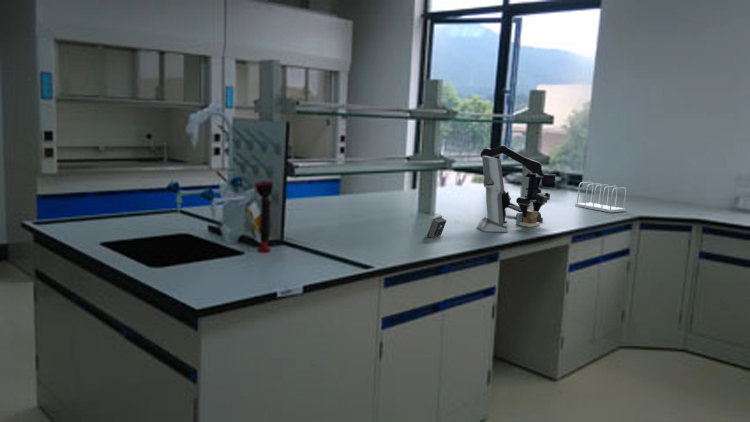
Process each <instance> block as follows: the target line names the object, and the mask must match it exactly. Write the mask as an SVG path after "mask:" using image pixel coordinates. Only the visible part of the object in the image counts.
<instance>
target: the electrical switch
mask: <svg viewBox="0 0 750 422" xmlns="http://www.w3.org/2000/svg"><path fill="white" fill-rule="evenodd" d="M446 224H447V219H445V218H443V216H442V215H437V216H433V217H431V218H430V221H429V223H428V226H427V229H426V231H425V235H424V237H425V238H427V237H428V238H429V237H430V238H432V239H436V238H437V237H441V236H442V233H443V231H444V228H445V227H446V226H445V225H446Z"/></svg>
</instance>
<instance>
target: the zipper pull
mask: <svg viewBox="0 0 750 422" xmlns="http://www.w3.org/2000/svg"><path fill="white" fill-rule="evenodd" d="M507 209H511V210H513V211H516V212H517V213H521V212H522V211H521V209H520V206H519V205H518V204H515V203H513V202H510V205H509V207H508V208H507ZM517 213H516V214H515V219H516V218H517ZM543 220H544V218H543V217H542V213H541V212H540V211H539V212H538V216H537V222H538V223H543Z"/></svg>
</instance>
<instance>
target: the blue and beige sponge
mask: <svg viewBox="0 0 750 422" xmlns="http://www.w3.org/2000/svg"><path fill="white" fill-rule="evenodd" d="M516 214H517V219H516V218H515V219H516V221H515V225H516V226H523V227H527V228H531V227H539V226H540V223H538V222H537V223H532V224H530V223H526V222H523V214H522V212H516Z"/></svg>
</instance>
